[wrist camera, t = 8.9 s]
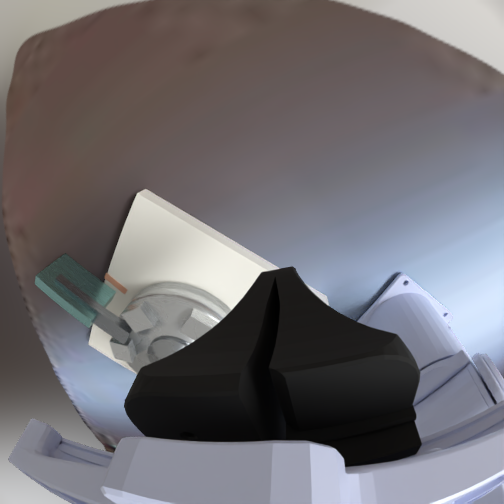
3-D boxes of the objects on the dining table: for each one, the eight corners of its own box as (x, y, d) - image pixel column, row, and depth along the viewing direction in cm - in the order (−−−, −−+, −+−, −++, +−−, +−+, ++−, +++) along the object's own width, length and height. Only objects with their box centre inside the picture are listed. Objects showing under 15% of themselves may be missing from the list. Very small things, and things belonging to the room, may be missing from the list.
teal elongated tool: (271, 329, 23) (269, 371, 18) (207, 390, 27) (198, 426, 22) (81, 205, 19) (45, 224, 15) (57, 294, 24) (31, 320, 19)
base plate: (326, 296, 23) (329, 306, 22) (221, 404, 30) (219, 414, 29) (144, 187, 20) (135, 192, 19) (93, 335, 28) (86, 343, 26)
